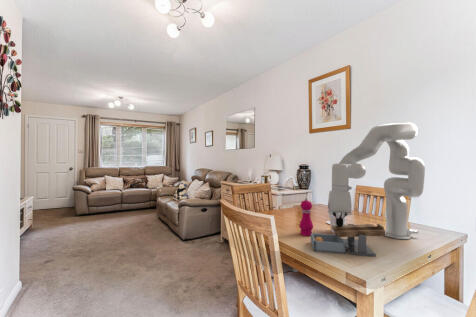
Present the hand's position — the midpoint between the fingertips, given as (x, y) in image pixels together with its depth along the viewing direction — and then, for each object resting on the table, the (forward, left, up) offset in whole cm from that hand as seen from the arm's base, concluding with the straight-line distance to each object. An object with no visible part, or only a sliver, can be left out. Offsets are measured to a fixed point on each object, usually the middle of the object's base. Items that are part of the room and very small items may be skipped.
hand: (339, 226), depth 111 cm
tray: (-6, +4, -1) cm, 8 cm away
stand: (-7, +4, -9) cm, 11 cm away
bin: (+7, +7, -9) cm, 13 cm away
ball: (+11, +7, -6) cm, 14 cm away
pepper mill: (+15, -11, -9) cm, 20 cm away
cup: (-3, -19, -9) cm, 21 cm away
